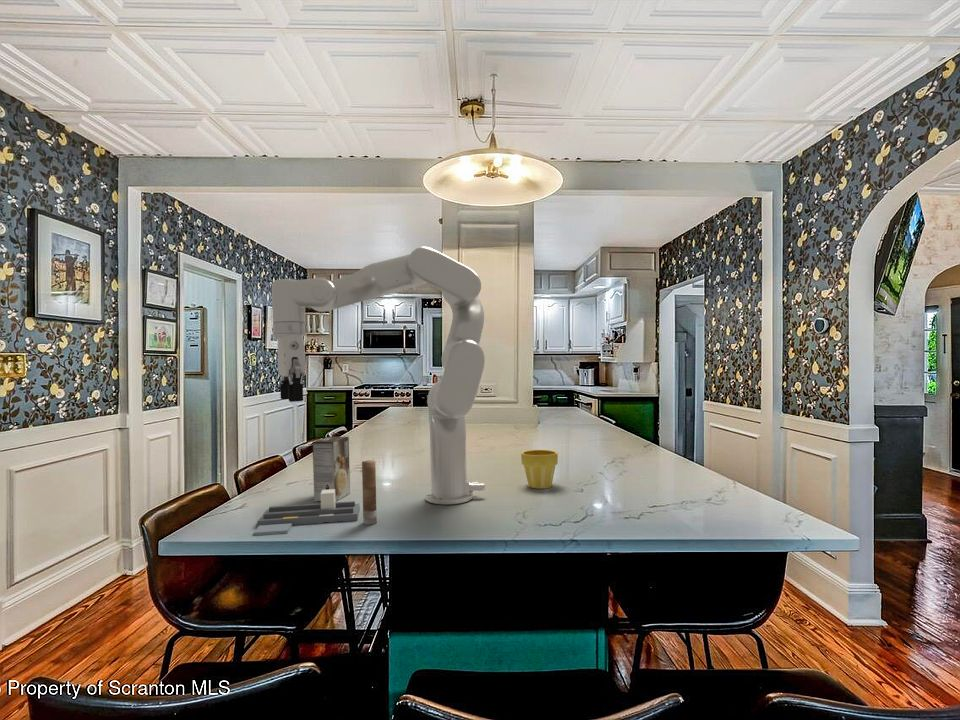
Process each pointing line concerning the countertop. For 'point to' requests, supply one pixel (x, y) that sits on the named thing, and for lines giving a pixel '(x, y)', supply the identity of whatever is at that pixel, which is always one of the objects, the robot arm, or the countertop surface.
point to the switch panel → (309, 514)
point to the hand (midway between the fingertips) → (291, 400)
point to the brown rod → (369, 492)
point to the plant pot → (539, 467)
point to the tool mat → (272, 529)
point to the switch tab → (328, 499)
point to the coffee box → (331, 466)
